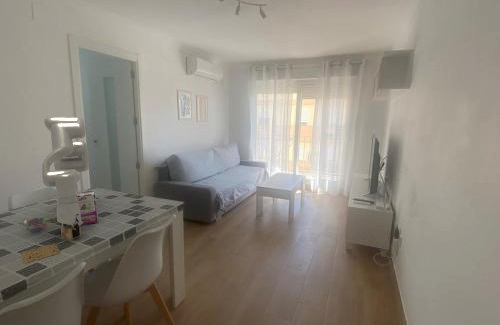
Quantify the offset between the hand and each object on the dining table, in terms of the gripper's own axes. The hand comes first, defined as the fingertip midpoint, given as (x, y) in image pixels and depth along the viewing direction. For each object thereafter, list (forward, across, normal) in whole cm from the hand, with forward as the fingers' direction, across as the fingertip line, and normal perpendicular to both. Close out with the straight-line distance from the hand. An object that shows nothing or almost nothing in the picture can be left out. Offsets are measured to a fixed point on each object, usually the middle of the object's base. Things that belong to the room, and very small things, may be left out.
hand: (71, 235), depth 122 cm
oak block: (+1, 0, 0) cm, 1 cm away
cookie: (+1, +2, -15) cm, 15 cm away
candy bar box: (+1, -8, +14) cm, 16 cm away
